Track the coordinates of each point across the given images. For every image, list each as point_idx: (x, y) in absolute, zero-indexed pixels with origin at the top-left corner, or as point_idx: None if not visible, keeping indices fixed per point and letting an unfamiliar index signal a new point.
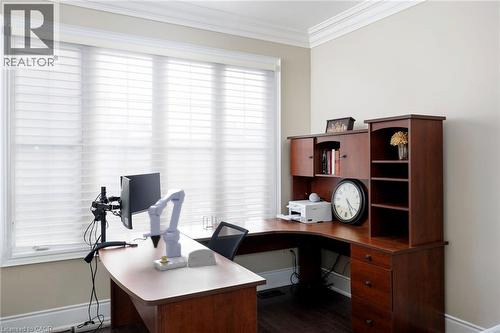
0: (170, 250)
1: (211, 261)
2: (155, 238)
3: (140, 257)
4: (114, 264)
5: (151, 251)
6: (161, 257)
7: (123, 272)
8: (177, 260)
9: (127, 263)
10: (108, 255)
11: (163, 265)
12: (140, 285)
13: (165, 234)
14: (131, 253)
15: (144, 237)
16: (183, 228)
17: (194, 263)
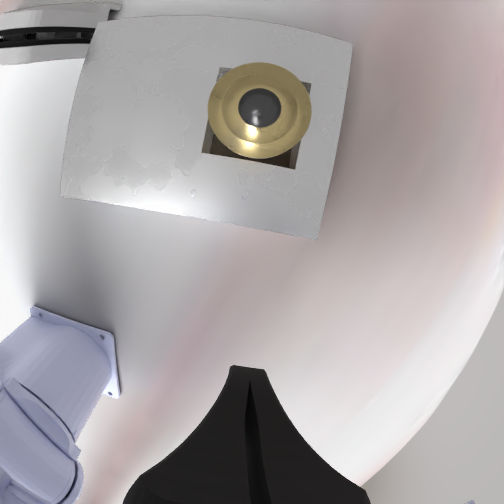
0: (68, 364)
1: (15, 11)
2: (304, 498)
3: None
4: (417, 409)
5: None
6: (303, 105)
7: (493, 244)
8: (133, 76)
9: (376, 397)
10: None
11: (324, 37)
12: (490, 6)
13: (4, 478)
14: None
15: (471, 502)
16: None
17: (83, 3)
